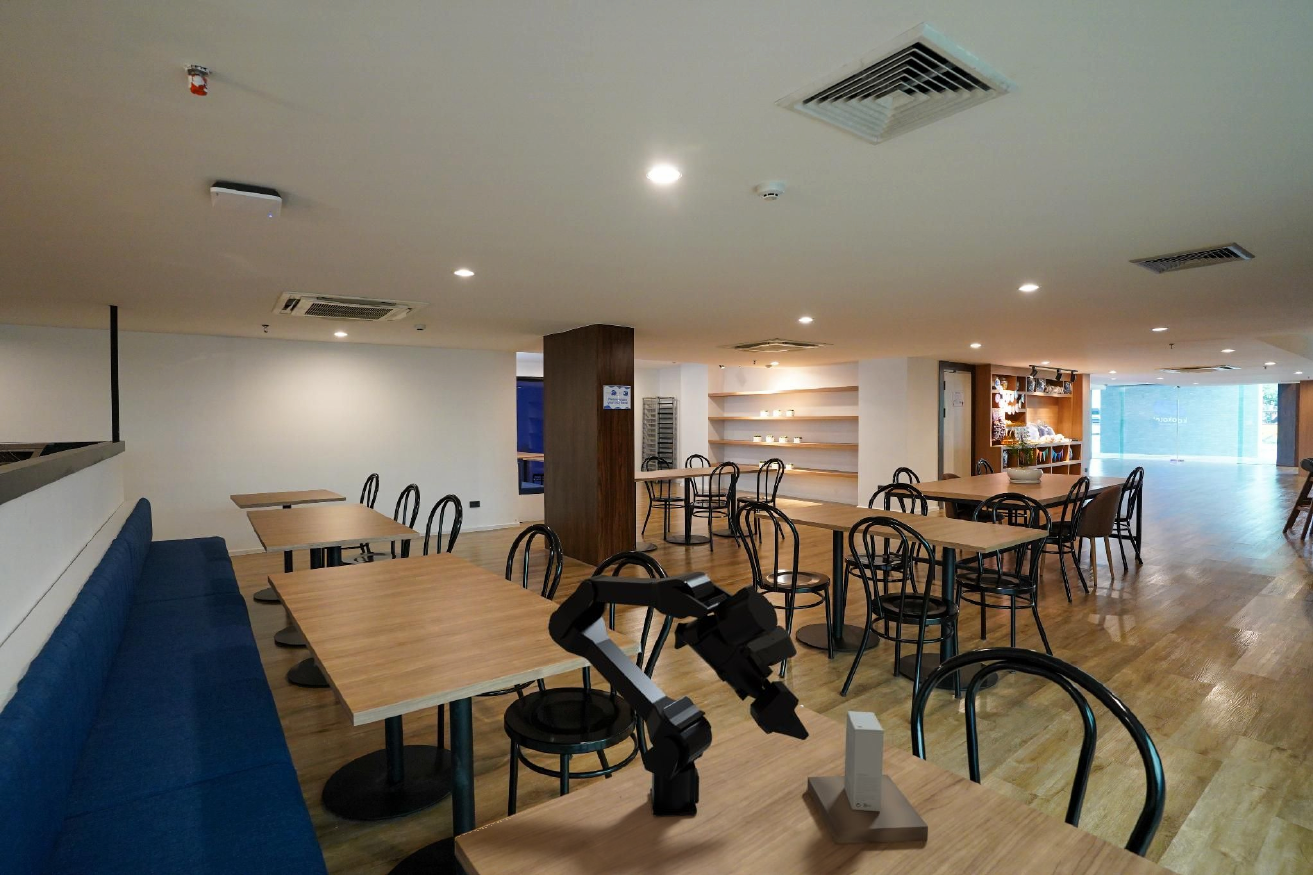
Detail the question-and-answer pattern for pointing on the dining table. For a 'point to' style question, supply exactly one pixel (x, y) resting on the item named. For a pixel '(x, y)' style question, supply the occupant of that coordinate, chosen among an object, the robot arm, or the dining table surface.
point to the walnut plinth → (866, 813)
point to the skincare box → (863, 761)
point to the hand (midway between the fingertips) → (794, 721)
